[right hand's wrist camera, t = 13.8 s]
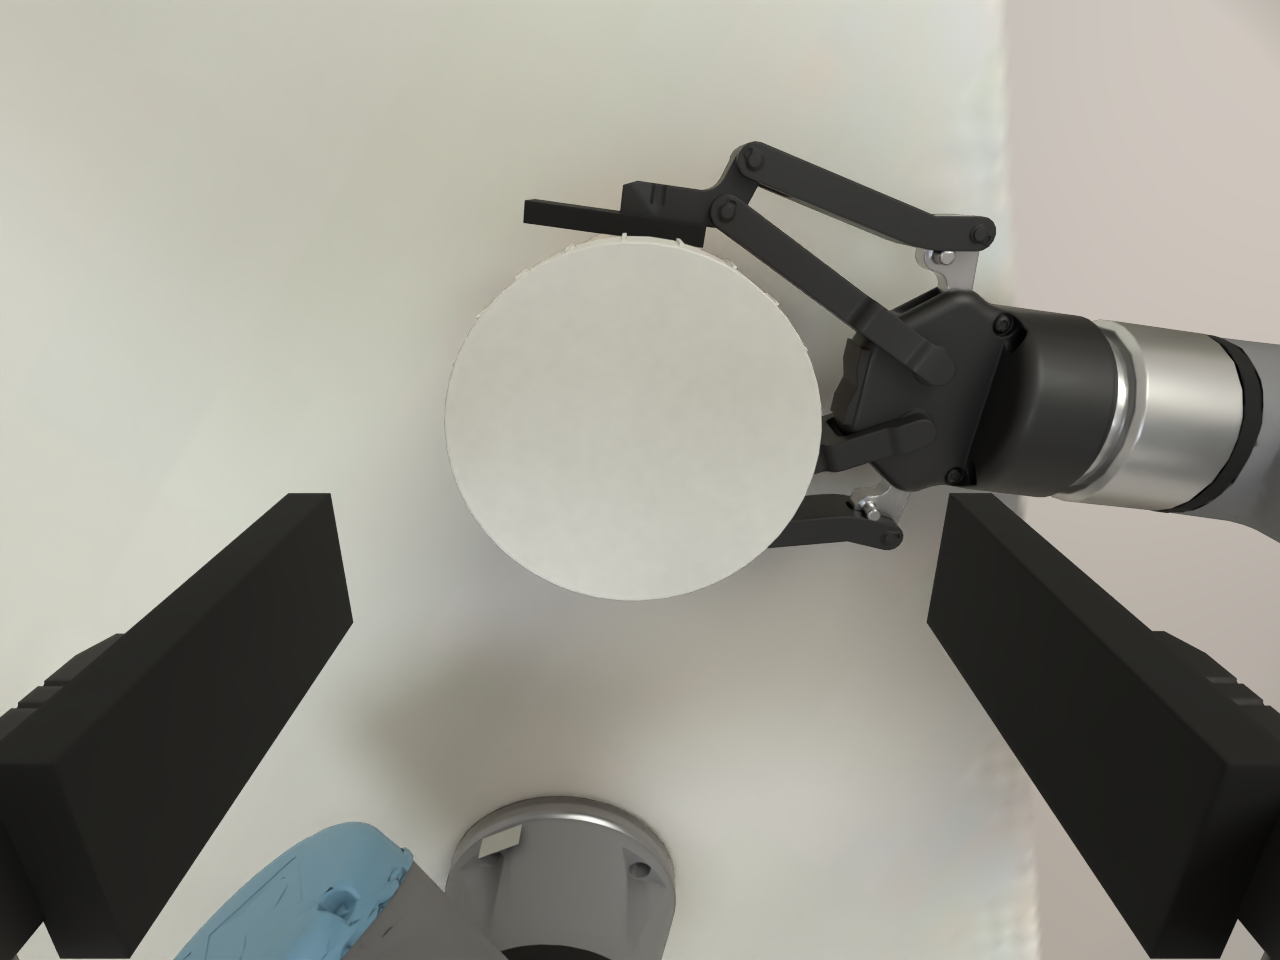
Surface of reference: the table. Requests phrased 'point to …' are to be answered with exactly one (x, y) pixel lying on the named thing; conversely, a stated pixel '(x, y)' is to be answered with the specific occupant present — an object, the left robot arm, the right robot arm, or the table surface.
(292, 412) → the table surface
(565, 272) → the lid
